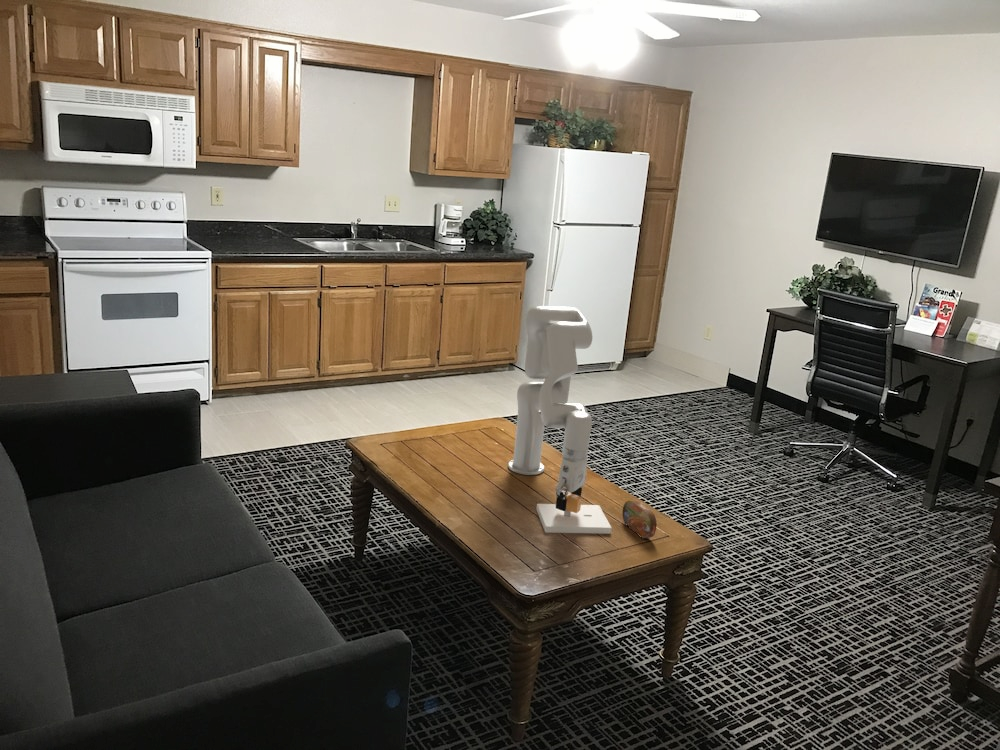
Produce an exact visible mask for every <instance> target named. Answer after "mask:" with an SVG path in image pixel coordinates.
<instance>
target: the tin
mask: <svg viewBox="0 0 1000 750" xmlns="http://www.w3.org/2000/svg"><path fill="white" fill-rule="evenodd" d="M622 519H623V522H624V525H626V524H627V525H628V526H629V527H630V528H631V529H632V530H633V531H635V532H636V533H637V534H639V535H640V536H641V537H642V538H641V539H648V538H653V537H654V536H655V534H656V531H657V525H658V524H657V518H656V516H655V514H654V513H653V511H652V510H650V509H649V508H647V506H645V505H643V504H642V503H641V502H640V501H638V500H627V501H625V502H624V504H623V507H622ZM630 528H629V529H630ZM631 529H630V530H631ZM632 530H631V531H632ZM633 531H632V532H633ZM636 533H635V534H636ZM637 534H636V535H637Z"/></svg>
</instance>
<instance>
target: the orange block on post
mask: <svg viewBox="0 0 1000 750" xmlns="http://www.w3.org/2000/svg"><path fill="white" fill-rule="evenodd" d="M562 492H563V494H565V491H563V490H562ZM566 499H567V504H566V510H568V511H571V512H574V513H578V512H579V511H580V507H581V505H582V499H583V497H582V496H581V497H580V496H577V495H574V494H571V492H568V495H567V497H566Z"/></svg>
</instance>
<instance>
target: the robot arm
mask: <svg viewBox="0 0 1000 750" xmlns="http://www.w3.org/2000/svg"><path fill="white" fill-rule="evenodd" d="M525 329H526V333H527V334H526V335H527V345H526V355H525V363H524V372H525V376H526V377H527V378H529V379H532V380H543V381H526V382H523V383H522V384H520V385H519V386H518V389H517V391H516V393H517V394H516V400H517V419H516V429H515V439H514V450H513V459H511V460H509V462H508V465H507V467H508V468H509V470H510V471H511V472H513V473H516V474H519V475H524V476H535V475H539V474H542V473H543V472H544V470H545V465H544V464H543V463H542V462H541V460H542V451H543V442H544V432H545V427H547V428H550V429H551V428H552V429H560V428H561V429H562V428H563V429H564V435H563V444H562V451H561V457H562V459H561V464H560V468H559V474H558V480H557V481H558V482H557V483H558V484H557V485H556V486H555V492H556V493H555V494H556V500H555V504H556V509H559V510H562V511H565V510H566V504H567V499H566V497H567V495H568V493H571V494H574V495H577V496H580V497H582V492H583V486H584V485H585V484H586V479H587V467H588V452H589V446H590V437H591V432H592V430H591V429H592V423H593V418H592V416H591V414H590V413H588V412H589V411H588V409H587V407H586V406H585V405H584V404H582V403H580V402H568V399H569V393H570V385H571V379H572V377H571V376H574V375H575V374H576V373H577V372H578V369H579V366H578V359H577V352H576V351H577V350H582V349H583V350H586V349H589V348H590V347H591V345H592V342H593V331H592V328H591V326H590V324H589V322H588V321H587V319H586V317H585V316H584V314H583V313H582V312H581V311H580V310H579V309H578V308H576V307H573V306H557V305H556V306H554V305H551V306H550V305H537V306H533V307H530V308H528V310H527V312H526V314H525ZM576 349H577V350H576ZM562 491H565V494H563V492H562Z"/></svg>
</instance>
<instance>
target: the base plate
mask: <svg viewBox="0 0 1000 750" xmlns="http://www.w3.org/2000/svg"><path fill="white" fill-rule="evenodd" d="M536 512H537V515H538V517H539V520H540V523H541V525H542V528H543V530H544V533H545V534H546V533H550V534H552V533H553V534H555V533H556V534H557V533H558V534H599V535H600V534H601V535H603V534H605V535H606V534H609V535H610V534H611V533H612V526H611V524H610V522H609V521H608V520H609V519H607V517H606V515H605V513H604V511H603V510H602V508H601V506H600V505H599V504H581V507H580V511H579V512H578V513H574V512H571V511H568V510H565V511H562V510H559V509H556V503H536Z"/></svg>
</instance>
